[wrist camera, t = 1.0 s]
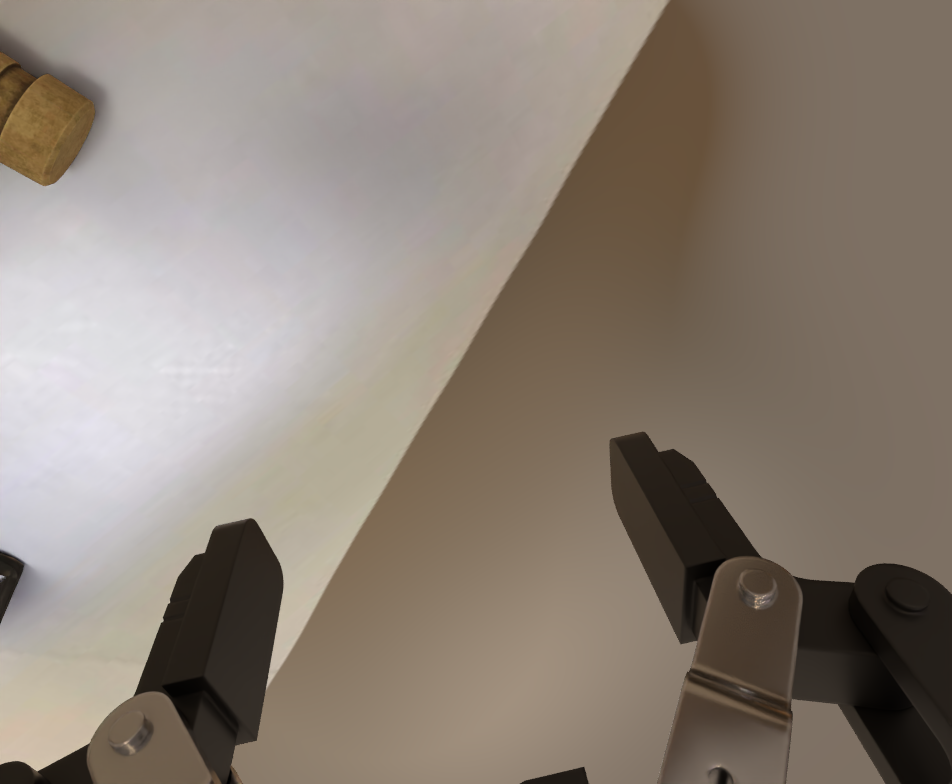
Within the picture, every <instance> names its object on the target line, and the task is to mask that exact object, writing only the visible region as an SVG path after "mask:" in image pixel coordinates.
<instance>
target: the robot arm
mask: <svg viewBox="0 0 952 784" xmlns="http://www.w3.org/2000/svg"><path fill="white" fill-rule="evenodd" d="M610 465H611V487H612V494H613V499H614V503H615V506H616V509H617V512H618V515H619V517H620V519H621V521H622V523H623V525H624V527H625V529H626V531H627V534H628V536H629V538H630V540H631V542H632V544H633V546H634V548H635V550H636V552H637V554H638V556H639V558H640V561H641V563H642V565H643V567H644V569H645V571H646V573H647V575H648V577H649V579H650V582H651V584H652V585H653V588H654V590H655V592H656V594H657V596H658V598H659V600H660V602H661V604H662V607H663V609H664V611H665V613H666V615H667V617H668V619H669V621H670V623H671V625H672V627H673V630H674V632H675V634H676V636H677V638H678V640H679V642H680V644H684V643H688V642H693V641H697V645H696V649H695V653H694V657H693V661H692V664H691V668H690V671H689V672H687V674H686V676H685V679H684V682H683V685H682V689H681V693H680V697H679V700H678V705H677V708H676V712H675V716H674V720H673V724H672V727H671V731H670V735H669V739H668V743H667V747H666V751H665V754H664V758H663V762H662V766H661V770H660V774H659V777H658V781H657V784H786V777H787V767H788V759H789V750H790V741H791V732H792V717H793V714H792V711H791V700H792V699H797V700H806V701H815V702H823V703H833V704H838V705H839V707H840V709H841V710H842V712H843V714H844V715H845V717H846V719H847V720H848V722H849V724H850V725H851V727H852V729H853V730H854V732H855V734H856V735H857V737H858V739H859V740H860V742H861V744H862V745H863V747H864V749H865V750H866V752H867V754H868V755H869V757H870V759H871V760H872V762H873V764H874V765H875V767H876V768H877V770H878V772H879V774H880V775H881V777H882V778H883V780H884V782H885V784H952V594H951V593H950V592H949V591H948V590H947V589H946V588H945V587H944V586H943V585H941V584H940V583H939V582H938V581H936V580H935V579H933V578H932V577H930V576H928V575H927V574H925V573H922V572H920V571H918V570H916V569H913V568H910V567H907V566H903V565H897V564H885V563H884V564H876V565H872V566H869V567H867V568H865V569H864V570H863V571H861V572H860V573H859V575H858V576H857V578H856V581H855V583H850V582H835V581H819V580H808V579H803V578H798V577H795V576H792V575H791V574H790V573H789V572H788V571H787V570H786V569H784V568H783V567H781V566H780V565H778V564H776V563H774V562H772V561H770V560H767V559H764V558H762V557H761V556H760V555H759V554H758V552H757V551H756V550H755V549H754V547H753V546H752V544H751V543H750V541H749V540H748V539H747V537H746V536H745V534H744V533H743V531H742V530H741V529H740V527H739V526H738V524H737V523H736V522H735V520H734V519H733V517H732V516H731V515H730V513H729V512H728V510H727V509H726V507H725V506H724V505H723V503H722V502H721V501H720V499H719V498H717V496H716V493H715V492H714V490H713V489H712V488H711V486H710V485H709V484H708V483H707V482H706V479H705V478H704V476H703V475H702V474H701V472H700V471H699V469H698V468H697V466H696V465H695V464H694V462H692V461H691V460H689V459H688V458H686V457H685V456H683V455H682V454H680V453H679V452H677V451H676V450H674V449H671V450H667V451H662V452H658V451H657V449H656V447H655V446H654V444H653V443H652V441H651V440H650V438H649V437H648V435H647V434H646V433H645V432H639V433H635V434H630V435H626V436H621V437H617V438H612V439H611V440H610ZM282 594H283V573H282V569H281V566H280V563H279V561H278V559H277V557H276V556H275V554H274V552H273V550H272V548H271V547H270V545H269V543H268V541H267V540H266V538H265V536H264V534H263V532H262V531H261V529H260V527H259V525H258V524H257V522H256V521H255V520H254V519H252V518H250V519H245V520H241V521H236V522H232V523H227V524H223V525H218V526H216V527H215V528H214V529H213V531H212V534H211V537H210V540H209V543H208V546H207V549H206V552H205V553H203V554H198V555H195V556H194V557H193V558H192V560H191V561H190V562H189V564H188V565H187V566H186V567H185V569H184V570H183V571H182V573H181V574H180V575H179V577H178V579H177V581H176V584H175V587H174V589H173V592H172V595H171V598H170V604H168V606H167V608H166V611H165V614H164V617H163V619H164V621H163V622H162V623H161V625H160V627H159V630H158V633H157V635H156V638H155V641H154V644H153V646H152V649H151V652H150V654H149V657H148V660H147V662H146V665H145V668H144V671H143V673H142V676H141V679H140V681H139V684H138V687H137V690H136V692H135V694H134V697H132V698H130V699H128V700H126V701H125V702H123V703H122V704H121V705H119V706H118V707H117V708H116V709H114V710H113V711H112V712H111V713H110V714H109V715H108V716H107V717H106V718H105V719H104V721H103V722H102V723H101V724H100V726H99V727H98V729H97V730H96V732H95V734H94V735H93V737H92V739H91V742H90V743H89V744H88V745H86V746H84V747H82V748H80V749H79V750H77V751H75V752H73V753H71V754H69V755H67V756H66V757H64V758H62V759H60V760H58V761H56V762H54V763H52V764H51V765H49V766H47V767H45V768H43V769H41V770H39V771H36V770H34V769H33V768H31V767H30V766H29V765H27V764H26V763H24V762H20V761H13V762H8V763H4V764H1V765H0V784H243V783H242V781H241V779H240V778H239V776H238V774H237V772H236V771H235V769H234V768H233V767H232V766H231V763H232V758H233V753H234V749H235V745H239V744H244V743H248V742H253V741H256V740H257V736H258V730H259V724H260V719H261V713H262V707H263V702H264V696H265V690H266V685H267V679H268V673H269V668H270V662H271V656H272V651H273V645H274V639H275V634H276V628H277V622H278V617H279V611H280V605H281V599H282ZM520 784H588V780H587V776H586V772H585V768H584V767H581V768H578V769H573V770H569V771H564V772H560V773H556V774H552V775H548V776H543V777H539V778H535V779H531V780H526V781H524V782H522V783H520Z"/></svg>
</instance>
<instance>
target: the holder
mask: <svg viewBox="0 0 952 784" xmlns="http://www.w3.org/2000/svg"><path fill="white" fill-rule="evenodd" d="M23 567H24V565H23V564H22V563H21V562H19V561H18V560H16V559H15V558H13V557H10V556H7V555H4V554H2V553H0V575H3V576H6V578H5V579H4V580H3V581H2V582H1V583H0V623H1V621H2V619H3V616H4V614H5V611H6V609H7V607H8V604H9V602H10V600H11V597H12V595H13V593H14V590H15V588H16V586H17V584H18V581H19V579H20V576H21V574H22V571H23Z"/></svg>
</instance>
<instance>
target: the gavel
mask: <svg viewBox="0 0 952 784" xmlns="http://www.w3.org/2000/svg"><path fill="white" fill-rule="evenodd" d="M94 116H95V109H94V104H93V102H92V101H90V100H89V99H87V98H86V97H84V96H83V95H81V94H79V93H78V92H76V91H75V90H73V89H72V88H70V87H68V86H67V85H65V84H64V83H62V82H61V81H59V80H58V79H56V78H54V77H53V76H51V75H49V74H45V75H43V76H41V77H39V78H38V79H37V78H35V77H33V76H32V75H30V74H29V73H27V72H25V71H24V70H22V68H21V65H20V64H19V63H18V62H16V61H15V60H13V59H12V58H10V57H8V56H7V55H5V54H4V53H2V52H1V51H0V163H2V164H4V165H6V166H8V167H10V168H11V169H13V170H15V171H17V172H19V173H21V174H22V175H24V176H26V177H28V178H30V179H32V180H33V181H35V182H37V183H39V184H41V185H42V186H47V185H50V184H53V183H55V182H56V181H57V180H58V179H59V178H60V177H61V176H62V175H63V174H64V173H65V171H66V170H67V169H68V168H69V166H70V165H71V163H72V162H73V160H74V159H75V157H76V156H77V154H78V152H79V151H80V149H81V147H82V145H83V143H84V141H85V139H86V137H87V135H88V133H89V131H90V129H91V126H92V123H93V120H94Z"/></svg>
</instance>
